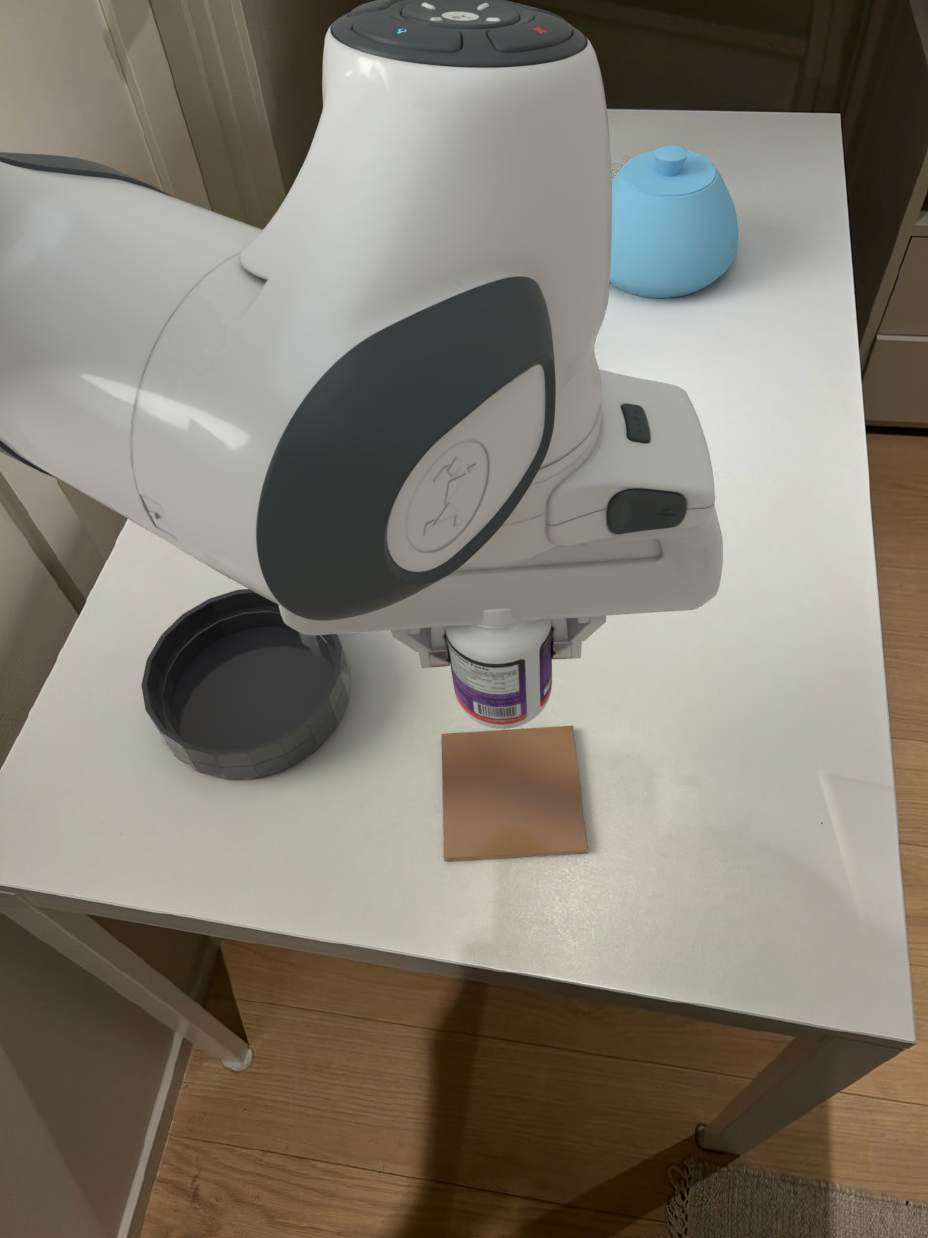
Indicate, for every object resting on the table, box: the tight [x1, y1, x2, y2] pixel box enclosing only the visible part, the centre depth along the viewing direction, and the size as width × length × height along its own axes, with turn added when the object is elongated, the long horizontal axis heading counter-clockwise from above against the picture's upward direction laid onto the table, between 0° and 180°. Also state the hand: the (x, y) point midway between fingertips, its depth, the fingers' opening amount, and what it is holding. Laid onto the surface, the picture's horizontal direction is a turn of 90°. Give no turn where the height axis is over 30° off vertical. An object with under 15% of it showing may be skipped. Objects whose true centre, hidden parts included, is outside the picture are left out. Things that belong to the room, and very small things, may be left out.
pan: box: [141, 588, 351, 780], centre depth 66 cm, size 14×14×4 cm
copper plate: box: [441, 725, 589, 862], centre depth 61 cm, size 9×9×1 cm
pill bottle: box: [445, 608, 553, 730], centre depth 47 cm, size 5×5×10 cm
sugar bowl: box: [610, 144, 739, 299], centre depth 91 cm, size 15×15×12 cm
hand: (501, 652), depth 48 cm, fingers closed on pill bottle, 5 cm apart
